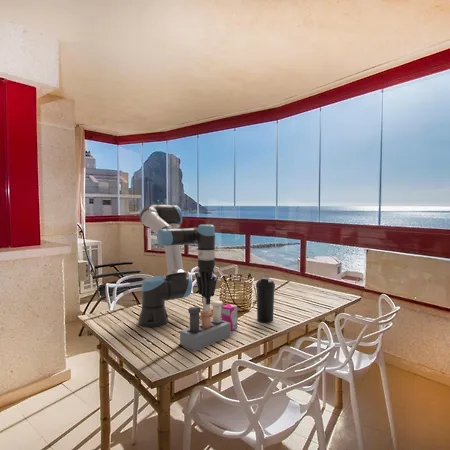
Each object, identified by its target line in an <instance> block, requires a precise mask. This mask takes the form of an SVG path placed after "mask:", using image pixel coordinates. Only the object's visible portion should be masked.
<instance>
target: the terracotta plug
mask: <svg viewBox="0 0 450 450" xmlns="http://www.w3.org/2000/svg"><path fill="white" fill-rule="evenodd" d="M199 316H201V323H202V328H203V329H205V330H206V329H209V328H211V319H212V318H211V317H212V316H213V310H210V311H207V312H203V309H202V310H201V312H200V313H199Z"/></svg>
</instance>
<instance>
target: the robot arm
mask: <svg viewBox="0 0 450 450" xmlns="http://www.w3.org/2000/svg"><path fill="white" fill-rule="evenodd" d="M183 217H184V216H183V212H182V209H181V208H180V207H179V206H178V205H176V204H149V205H147V206H144V207H143V208H142V210H140V213H139V220H140V222H141V223H142V225H144V227H148V228H149V229H151V231H153V233H155V234H156V240H157V243H158V245H159V246H162V247H163V246H164V253H165V258H166V259H165V260H166V266H167V273H166V274H165V277H164V275H155V276H149V277H147V278H145V279H144V280H142V282H141V289H140V290H141V311H140V313H139V316H138V325H139V326H140V327H144V328H155V327H161V326H164V325H166V324H167V323H169V315H168V313H167V310H166V307H165V306H166V304H165V303H166V301H172V300H177V299H179V300H180V299H184V298H187V297H189V296H191V293H192V289H193V280H192V277H191V276H190V275H188V272H187V271H186V270H184V265H183V264H184V263H183V259H182V251H181V249H182V248H181V246H184V245H185V246H187V245H197V258H198V260H197V268H198V272H194V276H195V278H196V285H197V291H198V295H201V298H202V299H201V300H202V301H201V302H202V303H201V304H202V310H203V312H207V311H210V308H211V307H210V305H211V297H214V296H215V291H216V286H217V281H218V279H219V275H216V274H215V271H214V269H215V265H216V264H215V263H216V262H215V261H216V260H215V258H216V256H215V255H216V251H215V248H216V231H215V225H213V224H199V225H198V227H189V228H180V226H181V224H182V223H183Z"/></svg>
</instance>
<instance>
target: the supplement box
mask: <svg viewBox="0 0 450 450" xmlns="http://www.w3.org/2000/svg"><path fill="white" fill-rule="evenodd" d="M221 320H224V321H226V322H229V323H231V332H234V330H235V331H236V330H237V329H238V305H235V304H231V303H226V304H224V305H222V306H221Z"/></svg>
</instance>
